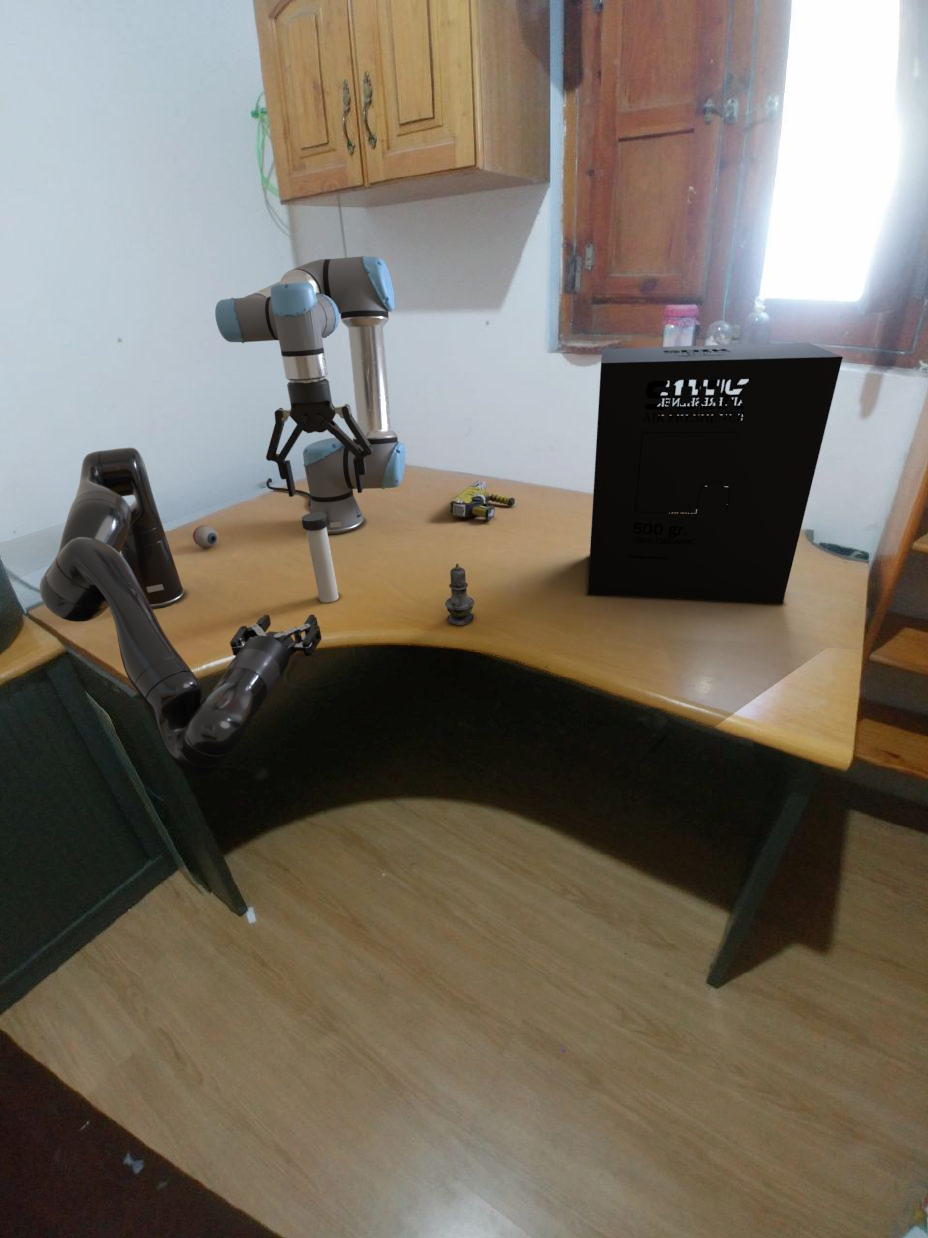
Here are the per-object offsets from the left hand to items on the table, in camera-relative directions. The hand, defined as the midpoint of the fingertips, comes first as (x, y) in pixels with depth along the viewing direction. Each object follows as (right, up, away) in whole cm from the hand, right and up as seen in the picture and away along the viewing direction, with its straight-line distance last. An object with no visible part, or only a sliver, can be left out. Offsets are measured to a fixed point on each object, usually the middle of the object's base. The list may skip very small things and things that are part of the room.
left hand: (290, 618), depth 109 cm
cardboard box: (+78, +9, +22) cm, 81 cm away
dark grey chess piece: (+31, 0, +11) cm, 33 cm away
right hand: (+4, +25, +11) cm, 28 cm away
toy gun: (+38, +32, +66) cm, 83 cm away
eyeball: (-36, +19, +51) cm, 65 cm away
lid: (+1, +20, +13) cm, 24 cm away
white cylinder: (+2, +4, +22) cm, 23 cm away
